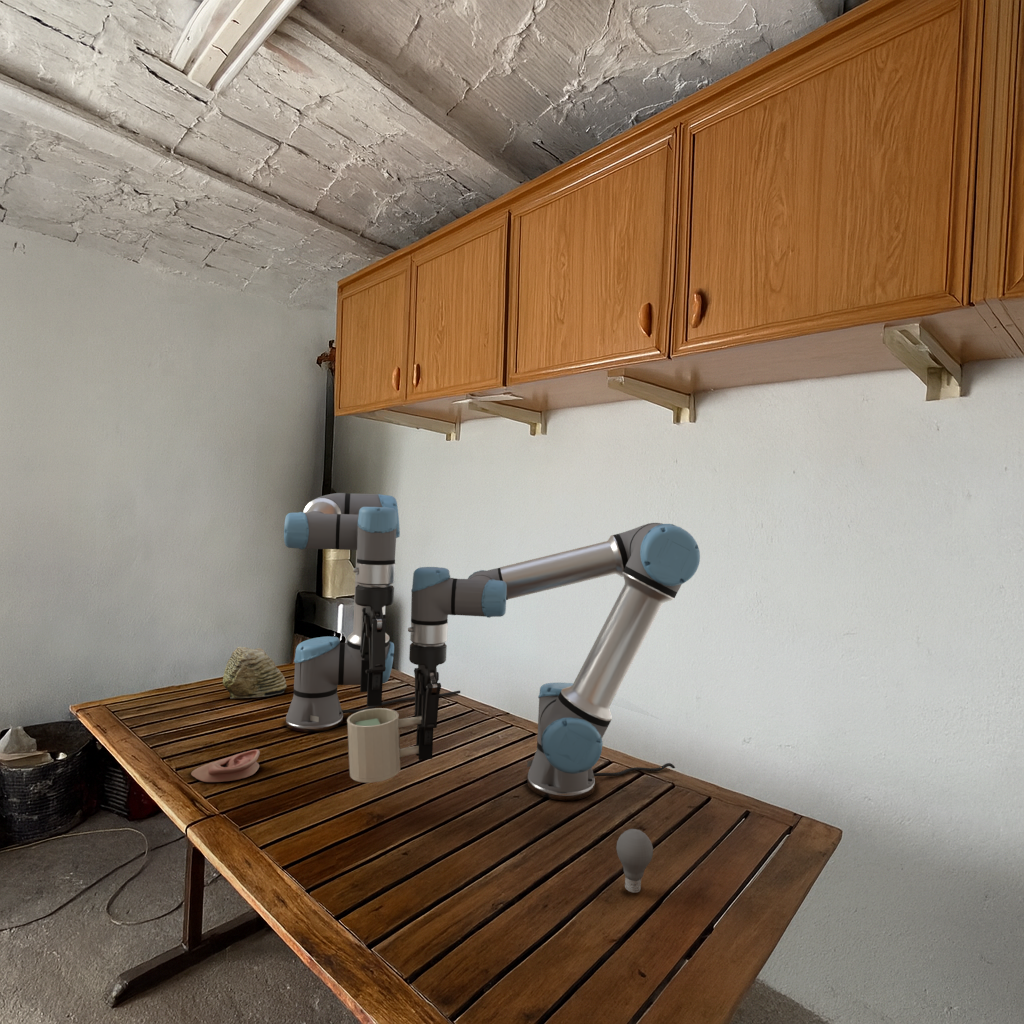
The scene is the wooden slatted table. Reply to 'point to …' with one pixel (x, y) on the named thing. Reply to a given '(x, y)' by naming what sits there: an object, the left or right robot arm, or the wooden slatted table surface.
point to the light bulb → (634, 857)
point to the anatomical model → (229, 768)
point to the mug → (377, 745)
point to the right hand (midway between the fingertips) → (424, 756)
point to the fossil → (252, 674)
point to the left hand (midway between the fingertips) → (370, 697)
